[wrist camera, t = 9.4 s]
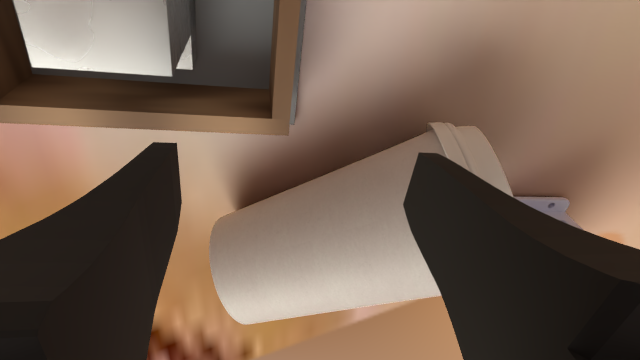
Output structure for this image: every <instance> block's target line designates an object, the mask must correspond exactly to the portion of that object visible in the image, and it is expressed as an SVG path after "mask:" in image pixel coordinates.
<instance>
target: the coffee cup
mask: <svg viewBox="0 0 640 360" xmlns="http://www.w3.org/2000/svg"><path fill="white" fill-rule="evenodd" d="M419 152H422V153H438V154H440V155H442V156H444V157H446V158H448V159H450V160H452V161H453V162H455V163H457V164H458V165H460V166H462V167H463V168H465V169H467V170H468V171H470V172H471V173H473V174H475V175H476V176H478V177H480V178H481V179H483V180H484V181H486V182H488V183H489V184H491V185H493V186H494V187H496V188H498V189H499V190H501V191H503V192H505V193H506V194H508V195H510V196H512V197H513V194H512V191H511V188H510V186H509V183H508V180H507V178H506V175H505V173H504V171H503V168H502V166H501V164H500V162H499V160H498V158H497V156H496V154H495V152H494V150H493V148H492V146H491V145H490V143H489V141H488V140H487V138H486V137H485V135H484V134H483V133H482V132H481V131H480V130H479V129H478V128H477V127H475V126H457V127H455V126H454V125H453V124H451V123H448V122H446V123H442V122H433V123H428V124H427V132H426V133H424V134H421V135H419V136H417V137H414V138H412V139H410V140H407V141H405V142H403V143H400V144H398V145H396V146H393V147H391V148H388V149H386V150H384V151H381V152H379V153H376V154H374V155H372V156H369V157H367V158H364V159H362V160H359V161H357V162H355V163H352V164H350V165H347V166H345V167H342V168H340V169H338V170H335V171H333V172H330V173H328V174H325V175H323V176H321V177H318V178H316V179H313V180H311V181H308V182H306V183H303V184H301V185H299V186H296V187H294V188H291V189H289V190H286V191H284V192H281V193H279V194H277V195H274V196H272V197H269V198H267V199H264V200H262V201H259V202H257V203H255V204H252V205H250V206H247V207H245V208H242V209H240V210H237V211H235V212H232V213H230V214H228V215H225V216H223V217H221V218H219V219H218V220H217V221H216V223H215V225H214V227H213V229H212V232H211V237H210V245H209V257H210V267H211V272H212V277H213V281H214V284H215V288H216V290H217V293H218V295H219V298H220V300H221V302H222V304H223V306H224V307H225V309H226V310H227V312H228V313H229V314H230V316H231V317H232V318H233V319H235V320H236V321H237V322H239V323H241V324H253V323H260V322H267V321H273V320H280V319H287V318H293V317H300V316H306V315H313V314H320V313H326V312H333V311H340V310H346V309H353V308H360V307H367V306H373V305H380V304H387V303H394V302H400V301H407V300H414V299H421V298H428V297H435V296H442V295H441V293H440V291H439V288H438V286H437V284H436V282H435V280H434V278H433V276H432V274H431V272H430V270H429V268H428V266H427V264H426V262H425V260H424V258H423V256H422V254H421V251H420V249H419V247H418V245H417V243H416V241H415V239H414V237H413V234H412V232H411V230H410V227H409V224H408V221H407V217H406V214H405V210H404V207H403V203H404V199H405V196H406V193H407V189H408V186H409V183H410V180H411V176H412V173H413V170H414V166H415V163H416V160H417V156H418V153H419Z"/></svg>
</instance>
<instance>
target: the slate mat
mask: <svg viewBox="0 0 640 360" xmlns="http://www.w3.org/2000/svg"><path fill="white" fill-rule="evenodd" d="M12 3H13V6H14V10H15V13H16V17H17V21H18V24H19V28H20V31H21V35H22V38H23V42H24V46H25V49H26V53H27V56H28V60H29V63H30V67H31V71H32V74H40V75H55V76H71V77H86V78H101V79H116V80H132V81H147V82H162V83H178V84H193V85H208V86H224V87H239V88H254V89H269V79H270V61H271V44H272V27H273V9H274V0H195V13H196V35H197V58H196V61H195V64H194V67H193V70H190V69H175V71H174V74H173V76H172V77H171V76H156V75H142V74H127V73H112V72H98V71H83V70H69V69H54V68H39V67H32V65H31V62H30V58H29V54H28V51H27V47H26V44H25V40H24V36H23V33H22V29H21V26H20V22H19V18H18V15H17V11H16V8H15V4H14V1H13V0H12ZM305 10H306V0H301V4H300V15H299V25H298V36H297V47H296V58H295V69H294V80H293V90H292V101H291V112H290V123H289V124H291V125H294V121H295V111H296V101H297V91H298V81H299V71H300V61H301V51H302V40H303V30H304V20H305Z"/></svg>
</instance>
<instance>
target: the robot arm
mask: <svg viewBox="0 0 640 360" xmlns="http://www.w3.org/2000/svg"><path fill="white" fill-rule="evenodd" d="M181 203H182V200H181V188H180V176H179V164H178V152H177V143H159V142H153V143H152V144H151V145H149V146H148V147H147V148H146V149H145V150H143V151H142V152H141V153H140V154H139V155H137V156H136V157H135V158H134V159H133V160H131V161H130V162H129V163H128V164H126V165H125V166H124V167H123V168H121V169H120V170H119V171H118V172H116V173H115V174H114V175H113V176H111V177H110V178H108V179H107V180H106V181H104V182H103V183H101V184H100V185H99V186H97V187H96V188H94V189H93V190H91V191H90V192H89V193H87V194H86V195H84V196H83V197H81V198H80V199H78V200H76V201H75V202H73V203H71V204H70V205H68V206H66V207H65V208H63V209H61V210H59V211H58V212H56V213H54V214H52V215H50V216H49V217H47V218H45V219H43V220H41V221H39V222H37V223H34V224H32V225H30V226H28V227H26V228H24V229H22V230H20V231H18V232H16V233H13V234H11V235H9V236H7V237H5V238H3V239H0V360H146V359H147V353H148V346H149V341H150V335H151V329H152V324H153V318H154V313H155V308H156V304H157V300H158V296H159V293H160V289H161V286H162V283H163V279H164V276H165V272H166V269H167V266H168V262H169V259H170V255H171V252H172V249H173V245H174V242H175V238H176V235H177V231H178V224H179V218H180V210H181ZM569 204H570V201H569V200H567V199H566V198H564V197H512V196H510V195H508V194H506V193H505V192H503V191H501V190H499V189H498V188H496V187H494V186H493V185H491V184H489V183H488V182H486V181H484V180H483V179H481V178H480V177H478V176H476V175H475V174H473V173H471V172H470V171H468V170H467V169H465V168H463V167H462V166H460V165H458V164H457V163H455V162H453V161H452V160H450V159H448V158H446V157H444V156H442V155H440V154H438V153H422V152H419V153H418V156H417V160H416V163H415V166H414V170H413V173H412V176H411V180H410V183H409V186H408V189H407V193H406V196H405V199H404V203H403V207H404V210H405V214H406V217H407V221H408V224H409V227H410V230H411V232H412V234H413V237H414V239H415V241H416V243H417V245H418V247H419V249H420V251H421V254H422V256H423V258H424V260H425V262H426V264H427V266H428V268H429V270H430V272H431V274H432V276H433V278H434V280H435V282H436V284H437V286H438V288H439V291H440V293H441V295H442V298H443V300H444V302H445V305H446V308H447V311H448V314H449V317H450V319H451V322H452V325H453V328H454V331H455V334H456V337H457V340H458V343H459V347H460V350H461V353H462V356H463V359H464V360H640V250H639V249H636V248H633V247H630V246H627V245H623V244H620V243H617V242H614V241H611V240H608V239H605V238H603V237H600V236H597V235H595V234H592V233H589V232H587V231H584V230H583V229H582V228H581V227H580V226H579V225H578V224H577V223H576V222H575V221H574V220H573V219H572V218H571V217H570V216H569V215H568V214H567V213H566V212H565V211H566V210H567V208H568V206H569Z"/></svg>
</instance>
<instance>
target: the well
mask: <svg viewBox="0 0 640 360" xmlns="http://www.w3.org/2000/svg"><path fill="white" fill-rule="evenodd" d="M300 4H301V0H274V9H273V27H272V44H271V61H270V79H269V89H254V88H239V87H224V86H208V85H193V84H178V83H162V82H147V81H132V80H116V79H101V78H86V77H71V76H55V75H40V74H32V71H31V67H30V63H29V60H28V56H27V53H26V49H25V46H24V42H23V38H22V35H21V31H20V28H19V24H18V21H17V17H16V13H15V10H14V6H13V3H12V0H0V123H14V124H37V125H60V126H83V127H106V128H128V129H151V130H174V131H197V132H220V133H243V134H266V135H288V134H289V123H290V112H291V101H292V90H293V80H294V69H295V58H296V47H297V36H298V25H299V15H300Z"/></svg>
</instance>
